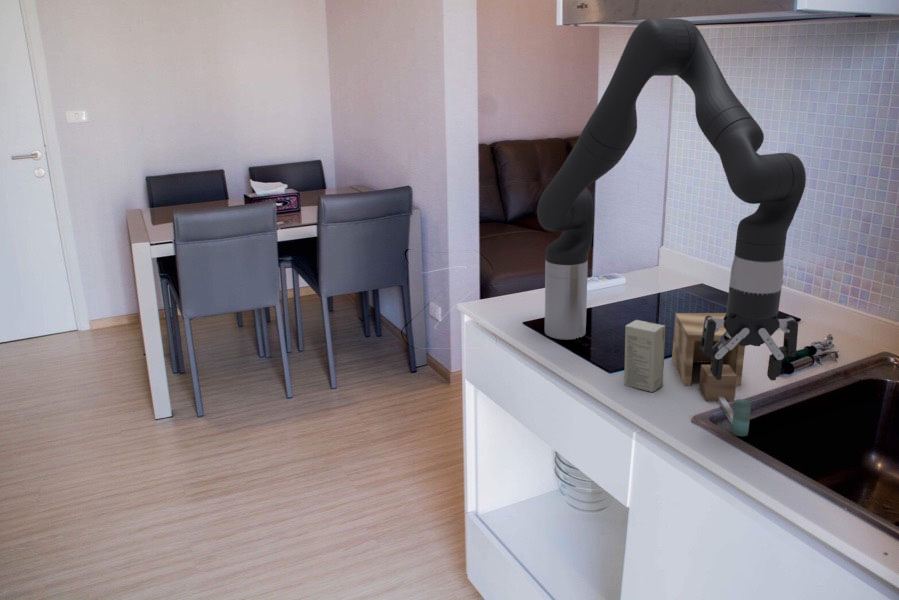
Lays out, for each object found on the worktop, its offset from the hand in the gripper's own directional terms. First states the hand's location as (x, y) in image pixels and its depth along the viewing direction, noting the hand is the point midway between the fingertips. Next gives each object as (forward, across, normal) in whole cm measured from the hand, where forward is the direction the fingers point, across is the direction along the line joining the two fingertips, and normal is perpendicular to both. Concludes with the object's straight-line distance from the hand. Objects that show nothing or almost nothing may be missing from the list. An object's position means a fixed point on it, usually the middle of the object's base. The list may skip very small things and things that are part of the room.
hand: (744, 378), depth 121 cm
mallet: (+10, 0, -7) cm, 12 cm away
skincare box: (+10, +13, -18) cm, 24 cm away
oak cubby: (+10, 0, -24) cm, 26 cm away
